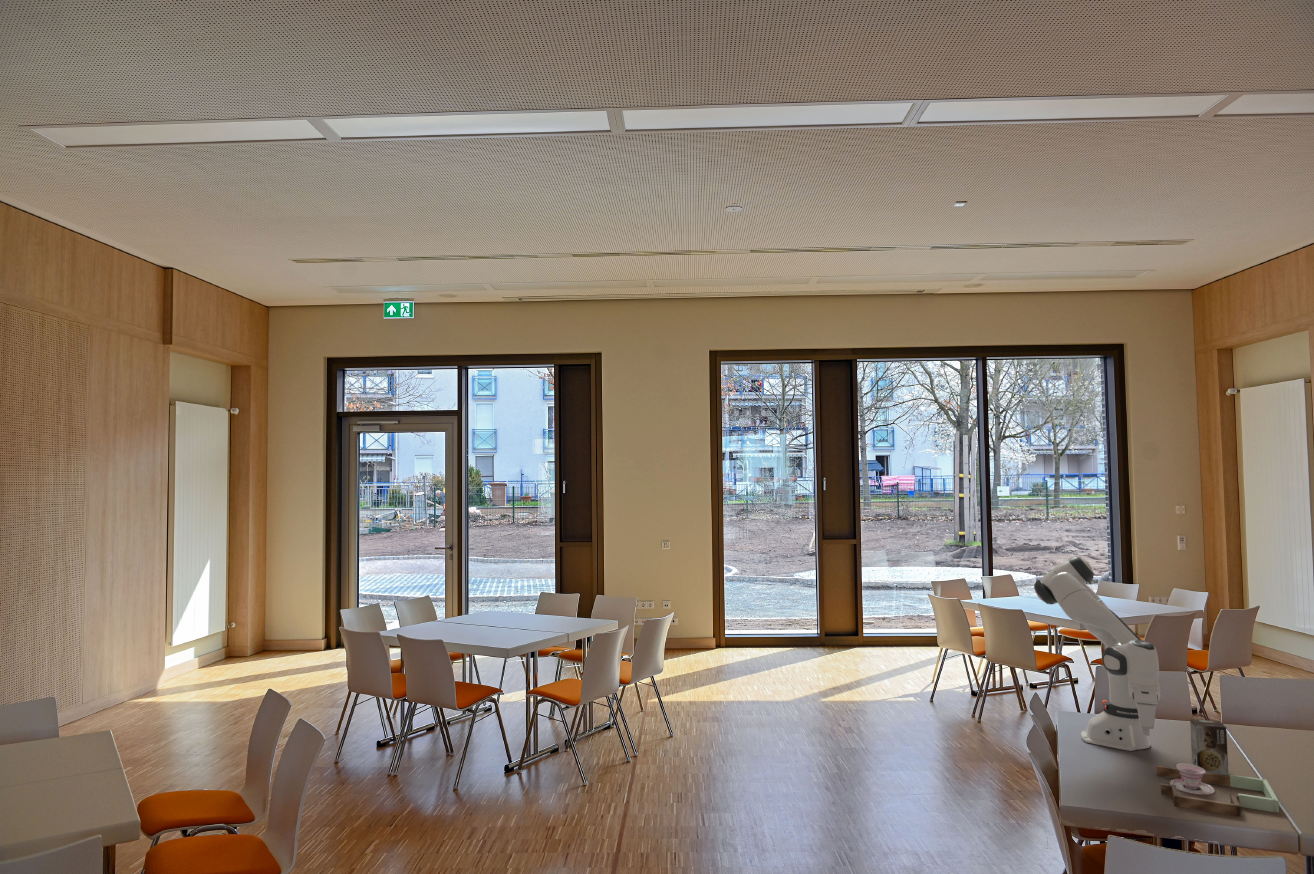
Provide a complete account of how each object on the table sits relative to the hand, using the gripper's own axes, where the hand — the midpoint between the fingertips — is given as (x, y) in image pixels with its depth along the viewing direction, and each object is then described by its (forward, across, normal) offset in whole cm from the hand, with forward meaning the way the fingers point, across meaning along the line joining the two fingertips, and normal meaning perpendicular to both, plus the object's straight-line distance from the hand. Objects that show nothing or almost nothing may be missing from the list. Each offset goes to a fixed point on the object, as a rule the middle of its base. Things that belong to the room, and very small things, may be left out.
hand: (1146, 734), depth 259 cm
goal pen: (+16, 0, +28) cm, 32 cm away
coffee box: (+16, -20, +19) cm, 32 cm away
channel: (+16, +4, +13) cm, 21 cm away
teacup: (+16, -2, +12) cm, 20 cm away
